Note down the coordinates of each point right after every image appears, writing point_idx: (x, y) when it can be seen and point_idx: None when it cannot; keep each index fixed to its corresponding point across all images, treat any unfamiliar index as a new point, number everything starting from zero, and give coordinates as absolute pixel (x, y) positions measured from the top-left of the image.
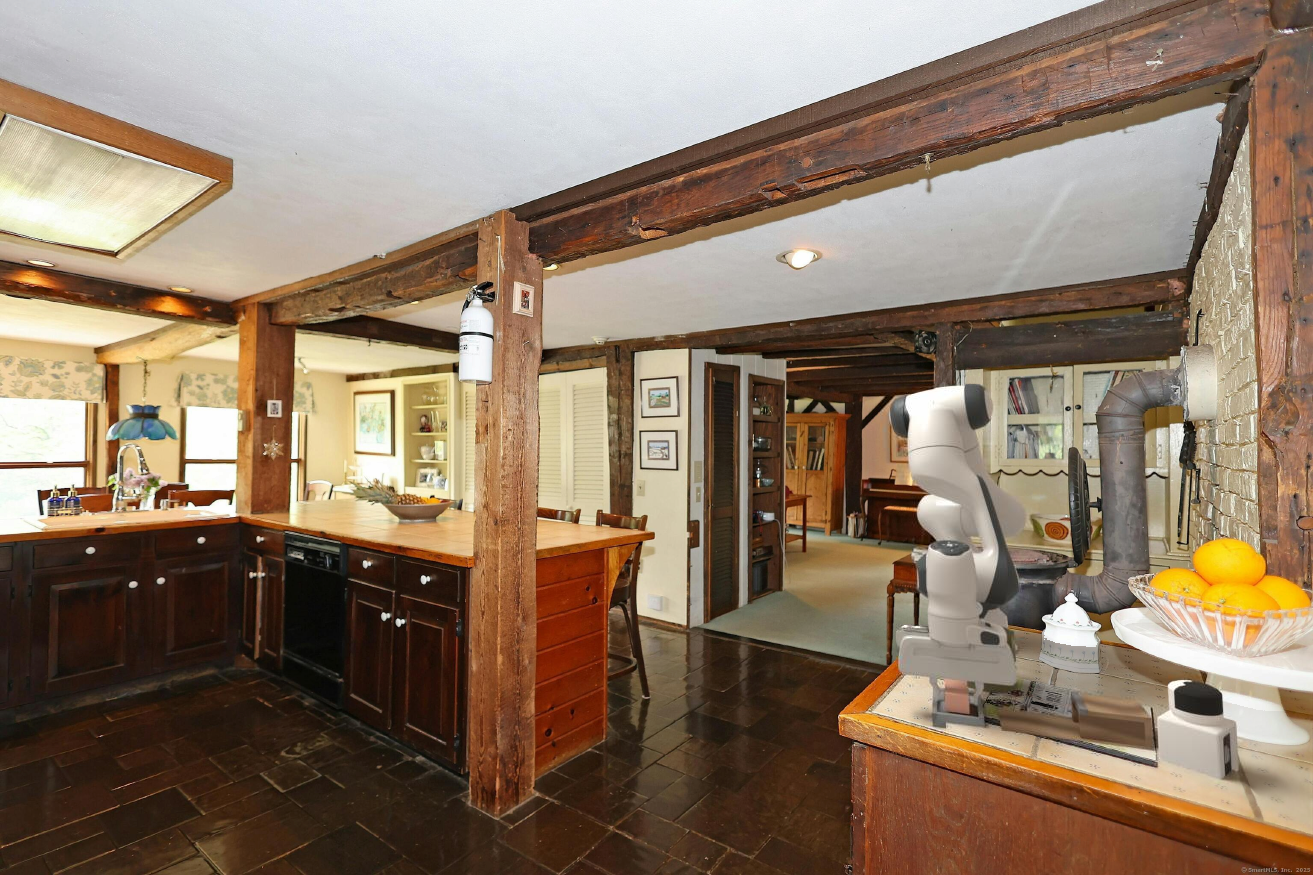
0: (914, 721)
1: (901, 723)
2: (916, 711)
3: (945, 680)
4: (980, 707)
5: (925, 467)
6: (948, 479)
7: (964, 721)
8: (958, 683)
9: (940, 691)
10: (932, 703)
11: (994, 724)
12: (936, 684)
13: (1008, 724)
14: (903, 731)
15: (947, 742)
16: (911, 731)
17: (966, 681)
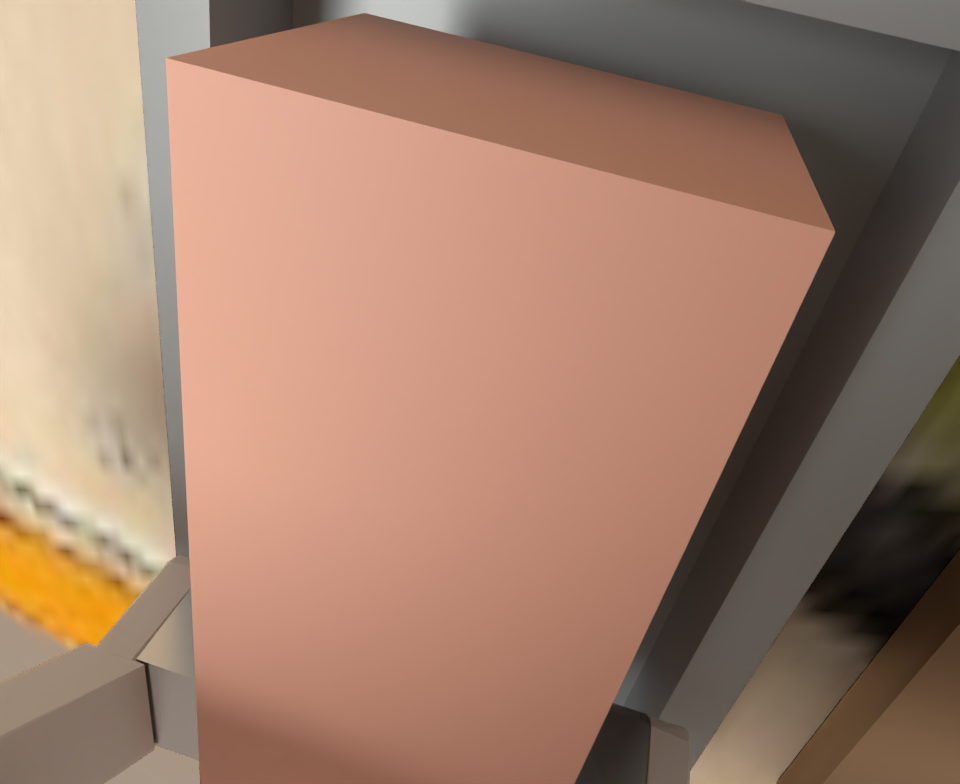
0: (114, 515)
1: (34, 539)
2: (96, 318)
3: (202, 400)
4: (732, 657)
5: None
6: None
7: None
8: (459, 573)
9: (161, 725)
10: (174, 514)
11: (835, 617)
12: (47, 761)
13: (930, 775)
14: (73, 639)
15: None
16: None
17: (702, 476)
